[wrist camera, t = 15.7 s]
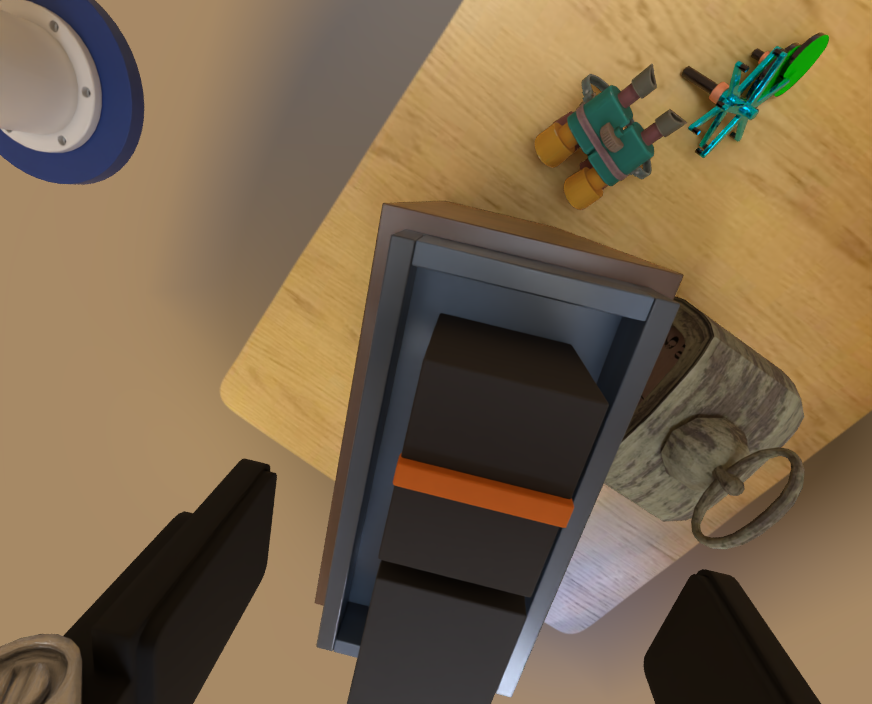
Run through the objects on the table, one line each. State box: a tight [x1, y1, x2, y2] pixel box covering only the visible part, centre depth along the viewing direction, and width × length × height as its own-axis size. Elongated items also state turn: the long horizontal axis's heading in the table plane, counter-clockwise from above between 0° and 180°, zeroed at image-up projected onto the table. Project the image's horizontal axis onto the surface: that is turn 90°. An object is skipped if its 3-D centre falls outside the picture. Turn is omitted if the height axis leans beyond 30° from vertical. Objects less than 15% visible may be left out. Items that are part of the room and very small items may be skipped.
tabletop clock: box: [604, 297, 805, 549], centre depth 34 cm, size 14×9×25 cm, turn 147°
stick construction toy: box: [682, 33, 829, 158], centre depth 35 cm, size 12×7×8 cm
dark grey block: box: [347, 560, 526, 704], centre depth 18 cm, size 5×7×5 cm
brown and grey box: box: [315, 201, 683, 697], centre depth 31 cm, size 11×20×31 cm, turn 167°
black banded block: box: [378, 313, 609, 597], centre depth 15 cm, size 5×7×5 cm
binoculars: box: [535, 64, 687, 210], centre depth 35 cm, size 9×9×10 cm
